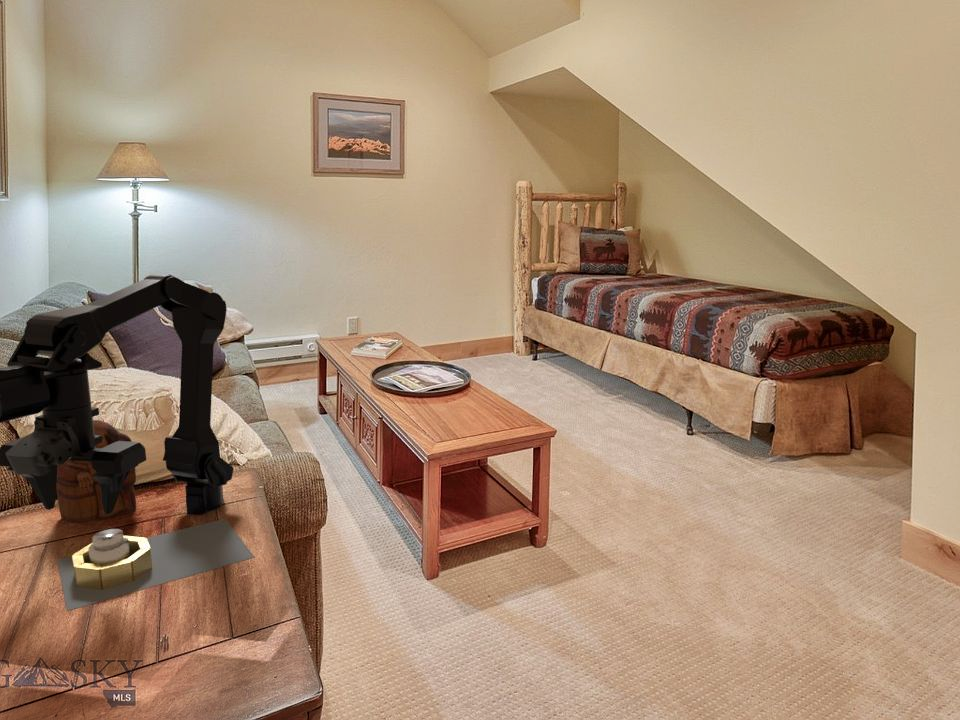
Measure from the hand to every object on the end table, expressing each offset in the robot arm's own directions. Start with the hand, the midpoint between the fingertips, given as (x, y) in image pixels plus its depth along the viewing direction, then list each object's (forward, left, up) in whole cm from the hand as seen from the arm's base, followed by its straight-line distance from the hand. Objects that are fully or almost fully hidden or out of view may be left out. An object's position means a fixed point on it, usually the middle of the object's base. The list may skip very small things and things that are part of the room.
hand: (79, 511), depth 91 cm
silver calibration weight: (0, +4, -9) cm, 10 cm away
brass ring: (0, +4, -9) cm, 10 cm away
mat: (-4, +8, -10) cm, 14 cm away
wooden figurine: (-17, -11, -10) cm, 23 cm away
